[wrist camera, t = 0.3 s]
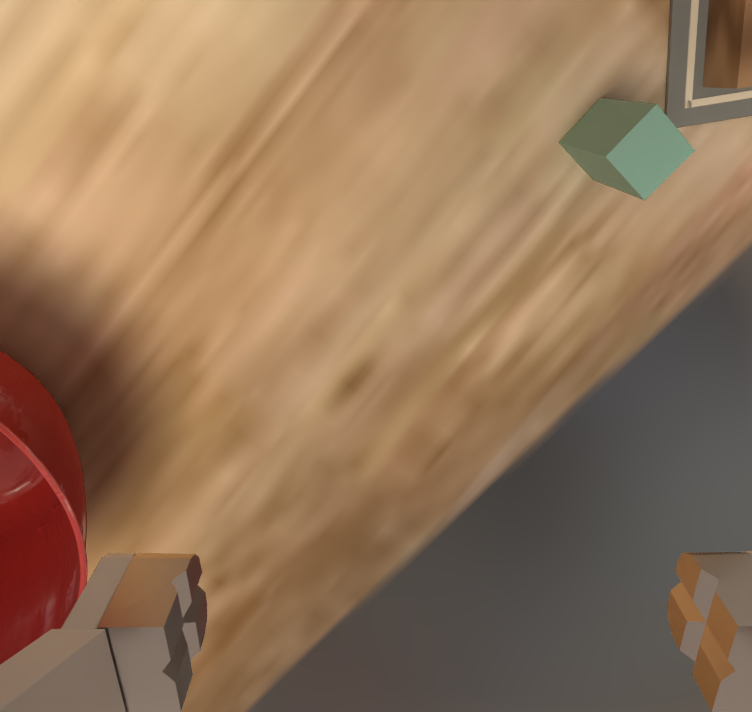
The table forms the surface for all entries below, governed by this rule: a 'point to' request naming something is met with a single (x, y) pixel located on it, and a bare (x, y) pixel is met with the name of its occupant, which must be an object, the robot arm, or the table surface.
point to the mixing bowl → (37, 512)
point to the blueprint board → (696, 72)
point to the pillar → (627, 145)
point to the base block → (728, 44)
